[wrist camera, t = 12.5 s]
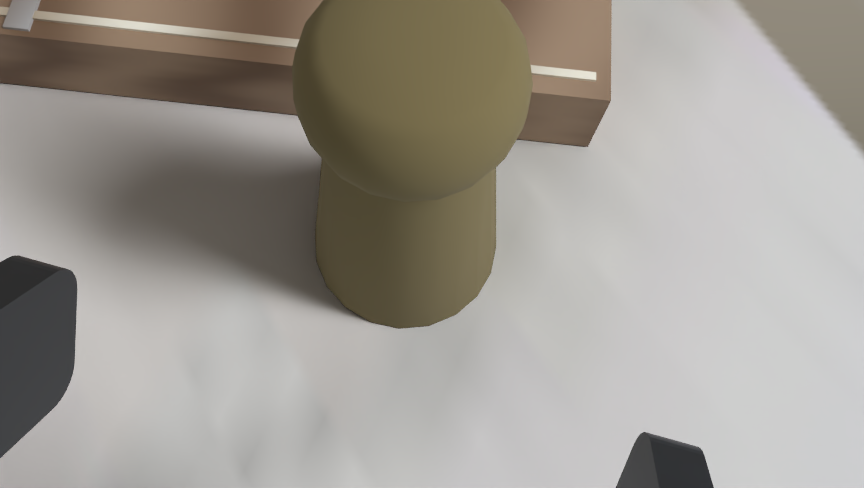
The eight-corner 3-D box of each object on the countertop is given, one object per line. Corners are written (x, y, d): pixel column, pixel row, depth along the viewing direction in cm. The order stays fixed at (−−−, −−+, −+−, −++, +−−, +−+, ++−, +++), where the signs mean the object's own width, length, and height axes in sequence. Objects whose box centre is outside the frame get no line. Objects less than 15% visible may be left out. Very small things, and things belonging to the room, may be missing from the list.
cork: (531, 268, 25) (628, 77, 15) (375, 364, 23) (362, 226, 13) (432, 131, 27) (457, -125, 16) (281, 213, 25) (204, -11, 15)
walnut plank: (-89, 72, 26) (-149, 15, 23) (-34, -60, 29) (-82, -127, 26) (587, 146, 27) (611, 98, 24) (590, 10, 29) (612, -49, 26)
